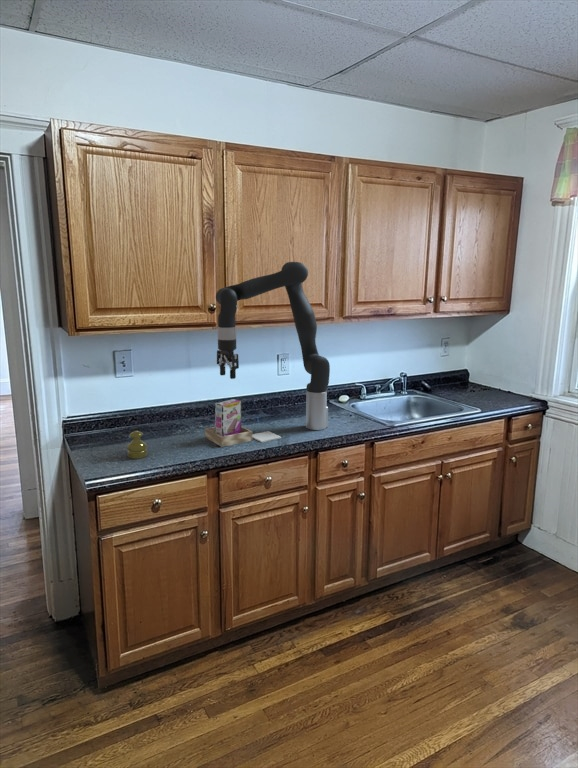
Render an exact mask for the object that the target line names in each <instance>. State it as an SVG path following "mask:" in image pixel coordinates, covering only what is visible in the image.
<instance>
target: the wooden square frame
mask: <svg viewBox="0 0 578 768" xmlns="http://www.w3.org/2000/svg"><path fill="white" fill-rule="evenodd" d="M204 430H205V431H204V432H205V434H204V437H205V438H206V439H207V440H209V441H211V442H212V443H214V444H216V445H218V446H220V447H221V448H222V447H228V446H233V445H238V444H242V443H247V442H251V441H253V438H252V434H253V430H250V429H248V428H247V427H244V426H242V425H241V433H238V434H233V435H228V436H223V437H222V436H220V435H218V434H216V433H215V426H212V427H206V428H204Z"/></svg>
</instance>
